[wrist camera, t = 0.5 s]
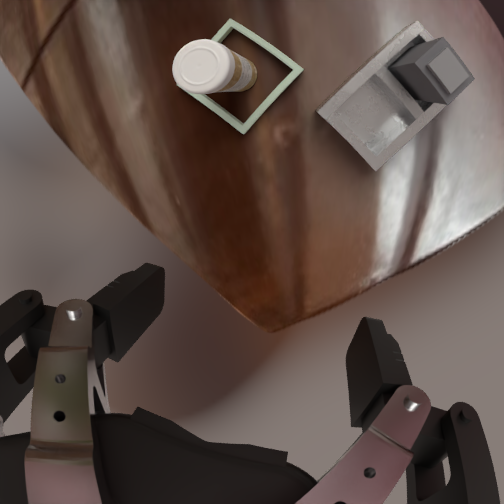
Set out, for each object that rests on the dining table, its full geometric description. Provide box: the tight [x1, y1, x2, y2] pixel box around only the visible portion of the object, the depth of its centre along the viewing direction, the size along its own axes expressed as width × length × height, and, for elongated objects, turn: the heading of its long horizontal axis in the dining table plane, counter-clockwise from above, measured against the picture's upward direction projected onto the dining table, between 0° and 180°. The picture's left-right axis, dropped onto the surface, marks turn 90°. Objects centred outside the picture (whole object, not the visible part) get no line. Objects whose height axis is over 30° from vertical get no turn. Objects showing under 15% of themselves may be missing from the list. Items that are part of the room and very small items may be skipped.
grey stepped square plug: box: [387, 37, 475, 105], centre depth 18 cm, size 5×5×10 cm
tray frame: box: [177, 19, 304, 135], centre depth 26 cm, size 11×11×1 cm
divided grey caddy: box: [316, 21, 446, 171], centre depth 23 cm, size 9×17×4 cm, turn 141°
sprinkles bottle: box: [172, 39, 257, 94], centre depth 21 cm, size 5×5×14 cm
